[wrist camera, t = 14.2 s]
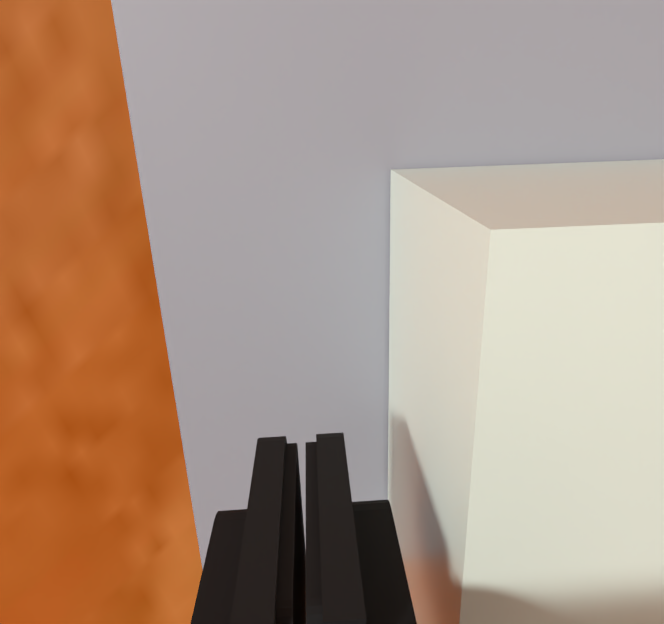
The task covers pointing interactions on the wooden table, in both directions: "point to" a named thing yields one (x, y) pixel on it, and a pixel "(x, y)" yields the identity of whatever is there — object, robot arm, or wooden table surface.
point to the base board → (339, 186)
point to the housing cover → (528, 391)
